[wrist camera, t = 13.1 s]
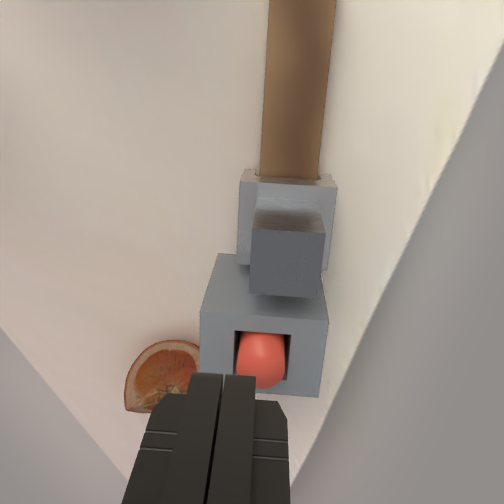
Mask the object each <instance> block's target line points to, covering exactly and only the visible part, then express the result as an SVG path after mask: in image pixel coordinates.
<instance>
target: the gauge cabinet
mask: <svg viewBox="0 0 504 504" xmlns="http://www.w3.org/2000/svg"><path fill="white" fill-rule="evenodd" d="M236 262H237V255H232V254H218V256H217V259H216V262H215V265H214V268H213V272H212V275H211V278H210V281H209V284H208V287H207V290H206V293H205V297H204V300H203V303H202V306H201V309H200V372H204V373H217V374H223V388H224V381H225V375H226V374H232V375H237V371H236V365H237V358H238V351H239V344H240V337H241V331H250V332H263V333H276V334H284V354H285V372H284V376H283V378H282V379H281V381H280V382H279V383H277V384H276V385H274V386H272V387H270V388H265V389H258V388H256V390H255V393H267V394H279V395H292V396H304V397H317V398H318V396H319V389H320V382H321V374H322V367H323V360H324V353H325V346H326V339H327V332H328V324H329V318H328V313H327V308H326V302H325V297H324V292H323V286H322V281H321V277H320V285H319V293H318V299H317V298H304V297H290V296H276V295H262V294H249V293H248V292H249V274H250V265H243V264H236Z"/></svg>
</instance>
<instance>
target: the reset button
mask: <svg viewBox="0 0 504 504" xmlns="http://www.w3.org/2000/svg"><path fill="white" fill-rule="evenodd" d="M236 371H237V375H245V376H256V388H258V389H265V388H270V387H272V386H274V385H276V384H277V383H279V382H280V381H281V379H282V378H283V376H284V372H285V354H284V334H276V333H263V332H250V331H241V337H240V344H239V351H238V358H237V365H236Z"/></svg>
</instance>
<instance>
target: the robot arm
mask: <svg viewBox="0 0 504 504" xmlns="http://www.w3.org/2000/svg"><path fill="white" fill-rule="evenodd" d="M255 390H256V376H245V375H232V374H226V375H225V381H224V388H223V374H217V373H204V372H192V374H191V377H190V381H189V385H188V389H187V394H174V393H166V395H165V396H164V397H163V398H162V399H161V400H160V401H159V402H158V403H157V405H156V406H155V407H154V408H153V409H152V412H151V415H150V418H149V421H148V424H147V427H146V432H145V433H144V436H143V439H142V442H141V445H140V450H139V451H138V455H137V458H136V461H135V464H134V467H133V470H132V473H131V476H130V479H129V482H128V485H127V488H126V492H125V495H124V497H123V500H122V503H121V504H290V481H289V462H288V459H289V455H288V428H287V418H286V416H285V415H284V413H283V411H282V409H281V407H280V405H279V403H278V402H277V401H267V400H255Z"/></svg>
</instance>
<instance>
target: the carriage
mask: <svg viewBox="0 0 504 504" xmlns="http://www.w3.org/2000/svg"><path fill="white" fill-rule="evenodd" d="M336 196H337V185H336V183H335V181H333V180H332V177H331V175H330V174H319V180H314V179H298V178H283V177H267V176H256V170H251V169H245V171H244V175H242V176H241V179H240V188H239V213H238V237H237V262H236V264H243V265H250V274H249V292H248V293H249V294H262V295H276V296H290V297H304V298H317V299H318V293H319V285H320V277H321V270H327V265H328V257H329V249H330V242H331V234H332V226H333V219H334V211H335V203H336Z"/></svg>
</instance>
